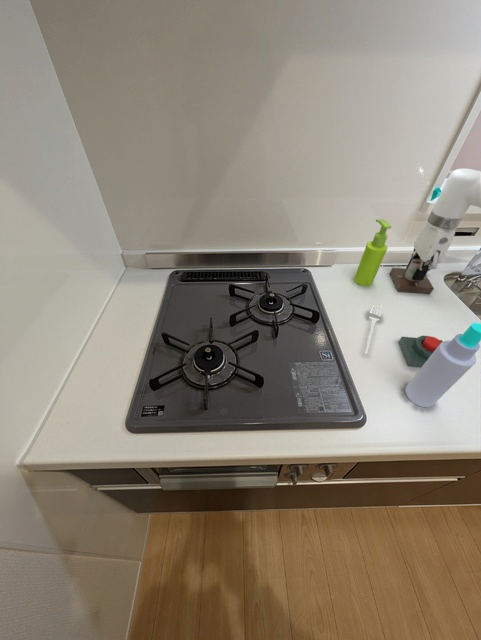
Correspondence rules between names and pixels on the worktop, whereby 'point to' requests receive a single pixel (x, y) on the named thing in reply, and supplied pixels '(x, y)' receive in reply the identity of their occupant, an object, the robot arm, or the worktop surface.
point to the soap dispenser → (372, 256)
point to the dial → (413, 269)
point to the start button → (431, 343)
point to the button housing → (414, 351)
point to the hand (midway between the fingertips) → (414, 273)
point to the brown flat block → (409, 283)
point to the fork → (372, 326)
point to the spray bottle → (444, 367)
